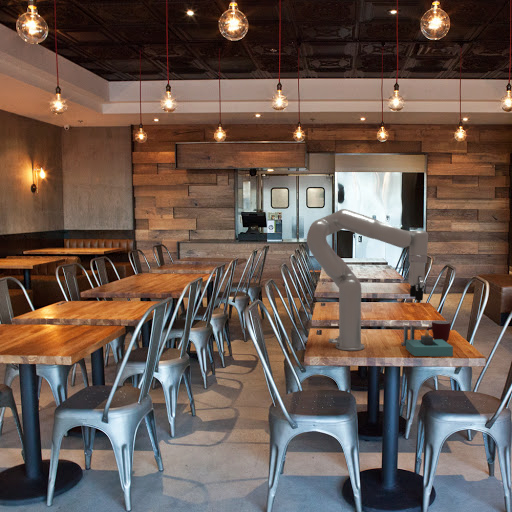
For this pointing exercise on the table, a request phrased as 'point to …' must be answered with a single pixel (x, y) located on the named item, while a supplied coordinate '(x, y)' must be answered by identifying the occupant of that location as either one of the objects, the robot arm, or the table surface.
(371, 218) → the robot arm
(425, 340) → the plug
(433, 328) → the mug
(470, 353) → the table surface
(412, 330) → the cable clip
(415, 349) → the block
